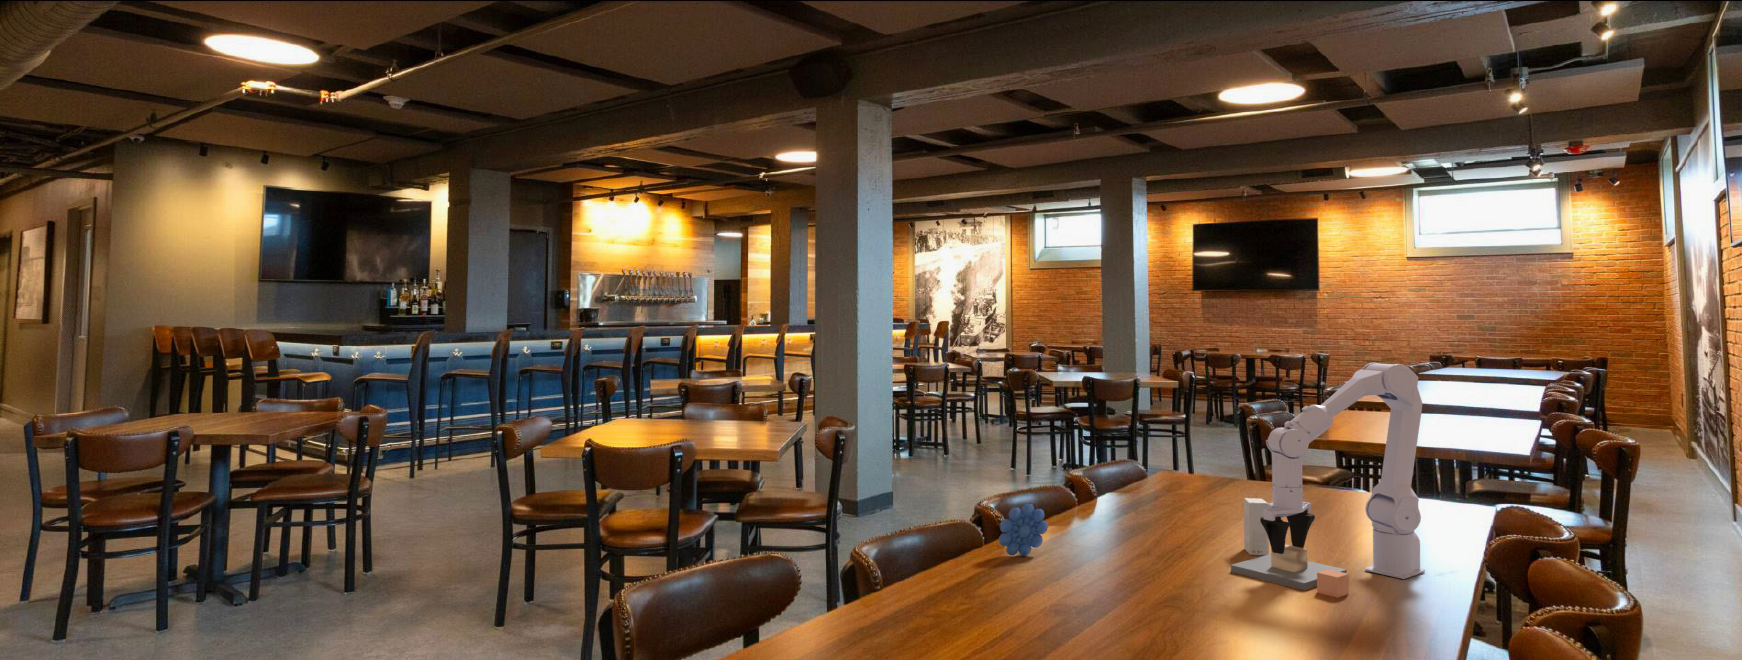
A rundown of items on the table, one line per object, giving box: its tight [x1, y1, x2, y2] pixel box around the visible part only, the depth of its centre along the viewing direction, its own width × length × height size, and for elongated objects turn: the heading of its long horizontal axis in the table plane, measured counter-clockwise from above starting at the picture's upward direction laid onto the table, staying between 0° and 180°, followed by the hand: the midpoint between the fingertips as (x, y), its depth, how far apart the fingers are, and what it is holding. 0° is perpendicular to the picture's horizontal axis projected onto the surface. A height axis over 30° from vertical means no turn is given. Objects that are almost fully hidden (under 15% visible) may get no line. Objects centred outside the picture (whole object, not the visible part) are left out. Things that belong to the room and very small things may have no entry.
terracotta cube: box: [1316, 569, 1350, 598], centre depth 167 cm, size 4×4×4 cm
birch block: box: [1270, 544, 1308, 572], centre depth 180 cm, size 5×5×4 cm
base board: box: [1230, 553, 1348, 591], centre depth 180 cm, size 16×16×2 cm
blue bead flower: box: [998, 503, 1049, 557], centre depth 198 cm, size 12×7×12 cm, turn 98°
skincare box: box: [1243, 497, 1270, 556], centre depth 198 cm, size 6×4×12 cm
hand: (1288, 550), depth 180 cm, fingers open, 7 cm apart
